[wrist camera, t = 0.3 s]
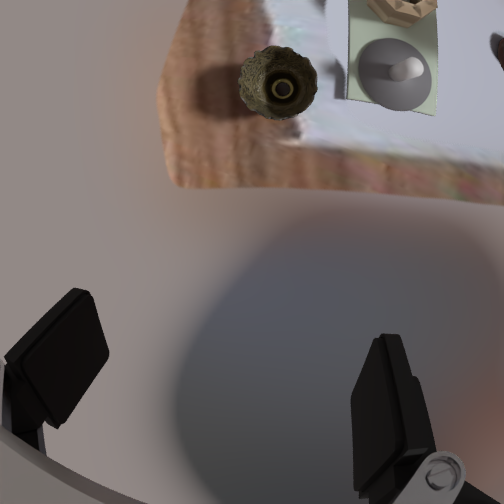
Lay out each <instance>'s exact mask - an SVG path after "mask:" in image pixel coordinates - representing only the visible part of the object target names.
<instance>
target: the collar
mask: <svg viewBox="0 0 504 504" xmlns="http://www.w3.org/2000/svg"><path fill="white" fill-rule="evenodd" d="M367 6H368V7H369V8H370V9H371V10H372V11H373V12H374V13H375V14H376V15H377V16H378V17H379V18H380V19H381V20H382V21H383V22H384V23H387V24H392V25H396V26H400V27H404V28H409V27H410V26H412V25H413V24H415V23H416V22H418V21H419V20H421V19H423V18H424V17H425V16H427V15H428V14H429V13H431V12H432V11H433V10H435V9H436V8H437V0H410V3H408V2H404V1H401V0H367Z"/></svg>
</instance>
